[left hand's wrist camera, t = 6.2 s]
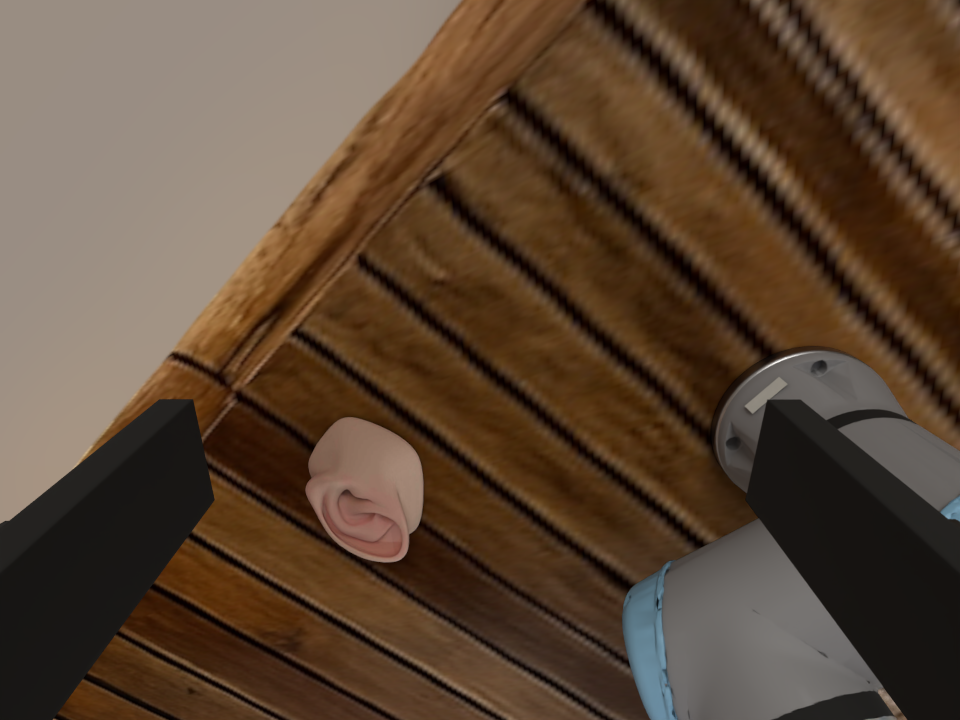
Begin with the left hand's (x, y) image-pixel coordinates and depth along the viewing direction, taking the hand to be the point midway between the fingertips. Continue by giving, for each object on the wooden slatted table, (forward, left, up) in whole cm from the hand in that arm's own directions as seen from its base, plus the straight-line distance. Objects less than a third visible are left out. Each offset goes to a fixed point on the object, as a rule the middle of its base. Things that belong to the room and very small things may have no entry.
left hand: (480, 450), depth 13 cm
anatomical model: (-7, +25, -34) cm, 43 cm away
